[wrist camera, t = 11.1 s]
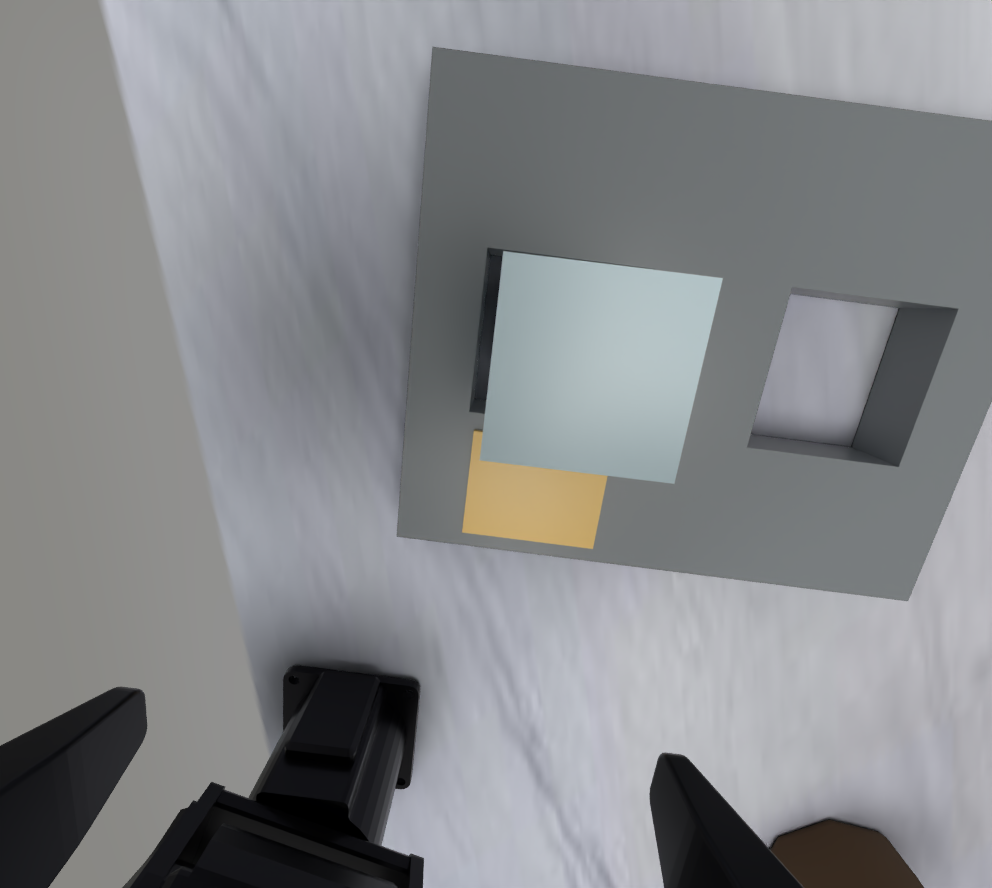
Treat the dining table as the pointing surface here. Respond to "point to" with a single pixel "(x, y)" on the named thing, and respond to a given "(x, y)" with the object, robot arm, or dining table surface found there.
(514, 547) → the socket panel
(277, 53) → the dining table surface
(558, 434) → the plug
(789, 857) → the beer bottle
